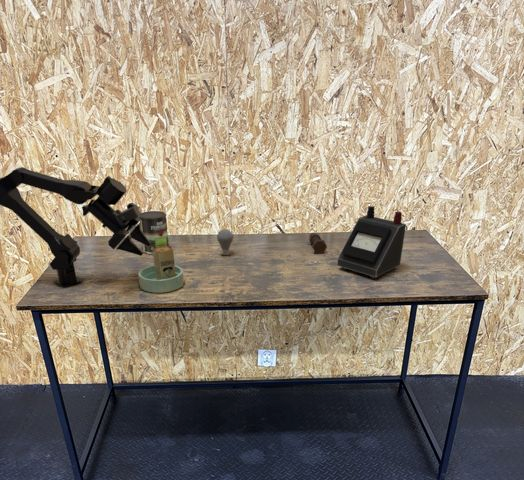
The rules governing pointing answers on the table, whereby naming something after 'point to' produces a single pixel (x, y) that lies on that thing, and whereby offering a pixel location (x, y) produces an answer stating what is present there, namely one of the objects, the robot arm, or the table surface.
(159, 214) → the coffee can
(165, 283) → the basin
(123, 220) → the robot arm
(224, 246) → the light bulb
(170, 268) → the shoe polish box
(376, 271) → the voltmeter
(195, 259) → the table surface
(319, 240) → the bolt
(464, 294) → the table surface
